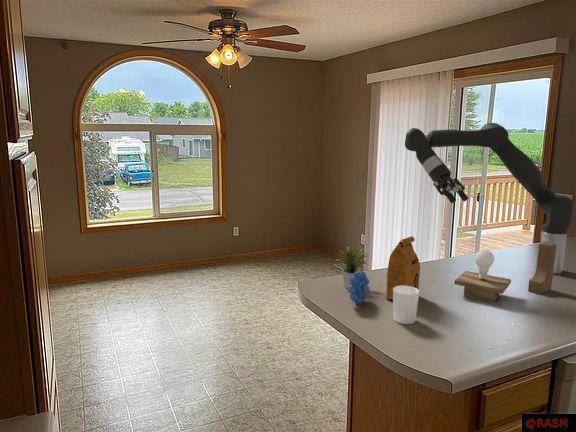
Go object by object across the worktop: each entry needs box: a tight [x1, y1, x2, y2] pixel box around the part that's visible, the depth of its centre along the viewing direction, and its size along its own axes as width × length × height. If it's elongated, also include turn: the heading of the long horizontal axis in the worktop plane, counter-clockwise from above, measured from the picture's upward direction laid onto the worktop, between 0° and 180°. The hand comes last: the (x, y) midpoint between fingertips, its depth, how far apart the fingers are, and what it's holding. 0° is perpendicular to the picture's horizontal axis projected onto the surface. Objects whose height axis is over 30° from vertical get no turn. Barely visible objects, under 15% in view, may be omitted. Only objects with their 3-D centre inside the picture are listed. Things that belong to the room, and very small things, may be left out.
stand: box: [453, 270, 512, 303], centre depth 157 cm, size 14×16×6 cm
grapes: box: [347, 270, 371, 305], centre depth 148 cm, size 12×7×12 cm, turn 139°
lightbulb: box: [474, 249, 495, 280], centre depth 156 cm, size 6×6×11 cm
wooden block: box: [527, 242, 557, 295], centre depth 162 cm, size 9×4×18 cm, turn 125°
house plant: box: [336, 244, 370, 289], centre depth 164 cm, size 14×14×16 cm
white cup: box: [392, 286, 420, 325], centre depth 136 cm, size 8×8×10 cm
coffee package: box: [386, 235, 421, 301], centre depth 153 cm, size 10×12×22 cm
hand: (460, 200), depth 167 cm, fingers open, 8 cm apart
